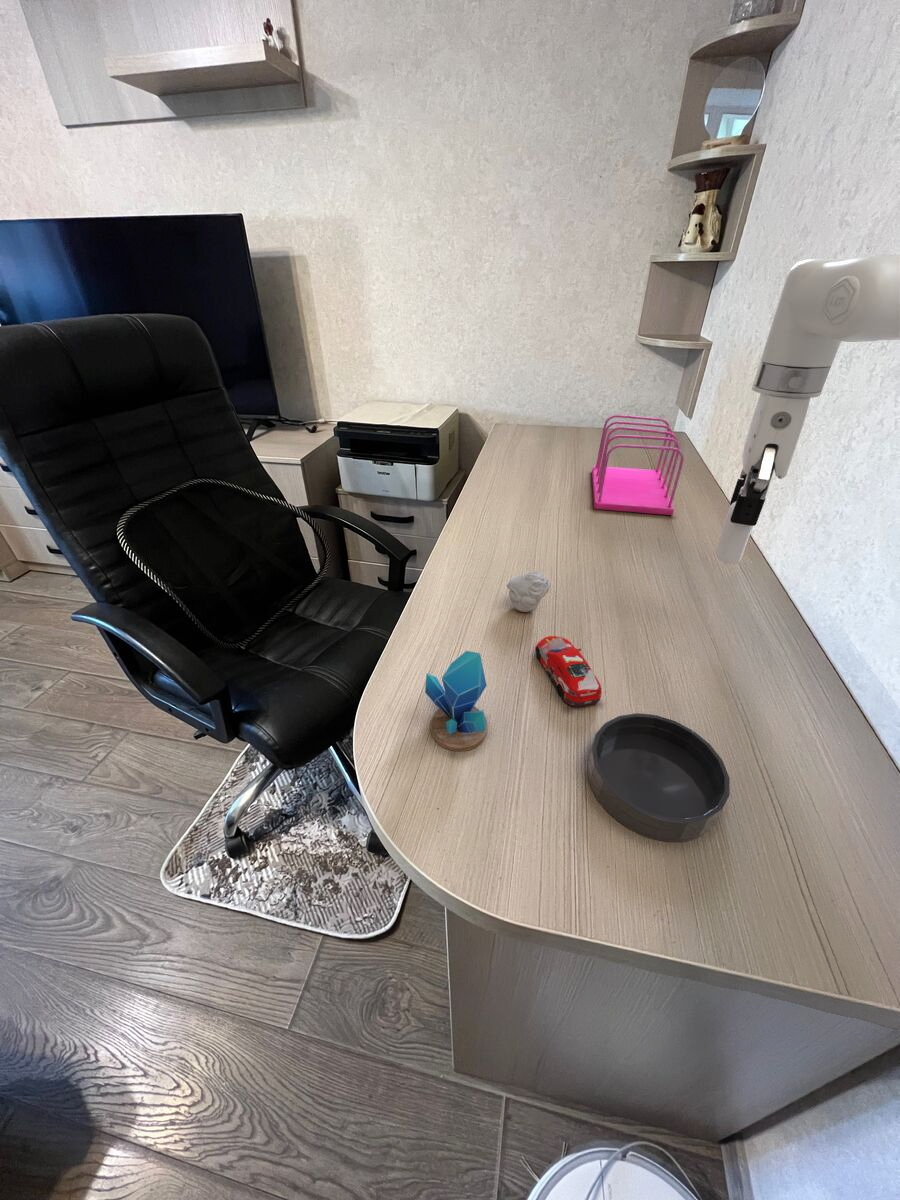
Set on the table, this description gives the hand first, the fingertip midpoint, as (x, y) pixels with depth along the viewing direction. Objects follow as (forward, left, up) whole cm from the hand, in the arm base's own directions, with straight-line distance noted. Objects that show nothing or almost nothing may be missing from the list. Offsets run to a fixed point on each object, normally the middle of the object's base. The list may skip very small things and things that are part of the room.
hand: (742, 513), depth 72 cm
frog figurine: (+27, +11, -19) cm, 35 cm away
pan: (+4, +37, -18) cm, 41 cm away
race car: (+17, +24, -19) cm, 35 cm away
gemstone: (+27, +39, -19) cm, 51 cm away
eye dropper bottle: (0, 0, -7) cm, 7 cm away
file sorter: (+19, -48, -19) cm, 55 cm away
